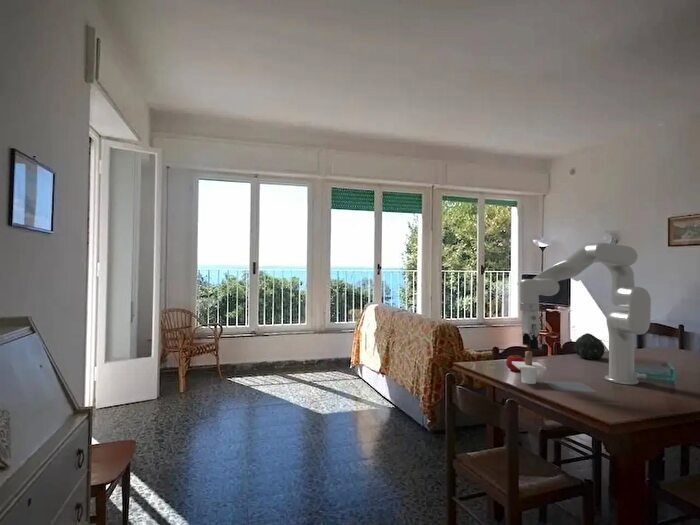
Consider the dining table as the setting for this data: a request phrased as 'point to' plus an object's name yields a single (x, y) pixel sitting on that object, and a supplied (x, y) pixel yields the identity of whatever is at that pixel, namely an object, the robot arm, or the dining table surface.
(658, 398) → the dining table surface
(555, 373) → the dining table surface
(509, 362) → the tomato
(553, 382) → the mat
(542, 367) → the lid
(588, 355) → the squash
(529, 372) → the white cylinder
